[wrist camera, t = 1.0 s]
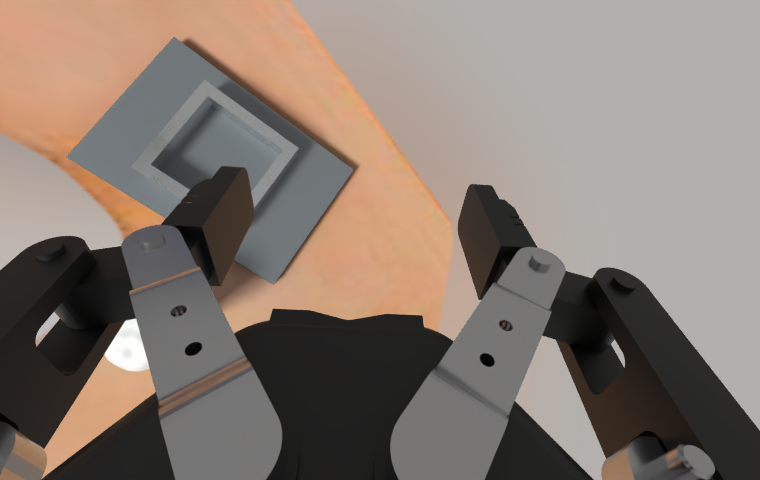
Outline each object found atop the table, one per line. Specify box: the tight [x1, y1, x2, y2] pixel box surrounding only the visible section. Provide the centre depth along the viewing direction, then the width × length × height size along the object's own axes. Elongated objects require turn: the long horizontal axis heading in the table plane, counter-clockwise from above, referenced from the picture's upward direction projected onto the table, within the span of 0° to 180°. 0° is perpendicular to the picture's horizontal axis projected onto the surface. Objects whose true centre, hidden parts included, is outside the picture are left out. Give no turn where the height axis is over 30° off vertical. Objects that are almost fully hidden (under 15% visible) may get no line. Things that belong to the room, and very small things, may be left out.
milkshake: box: [104, 319, 150, 371], centre depth 26 cm, size 5×5×10 cm
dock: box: [67, 37, 353, 285], centre depth 30 cm, size 20×14×4 cm
